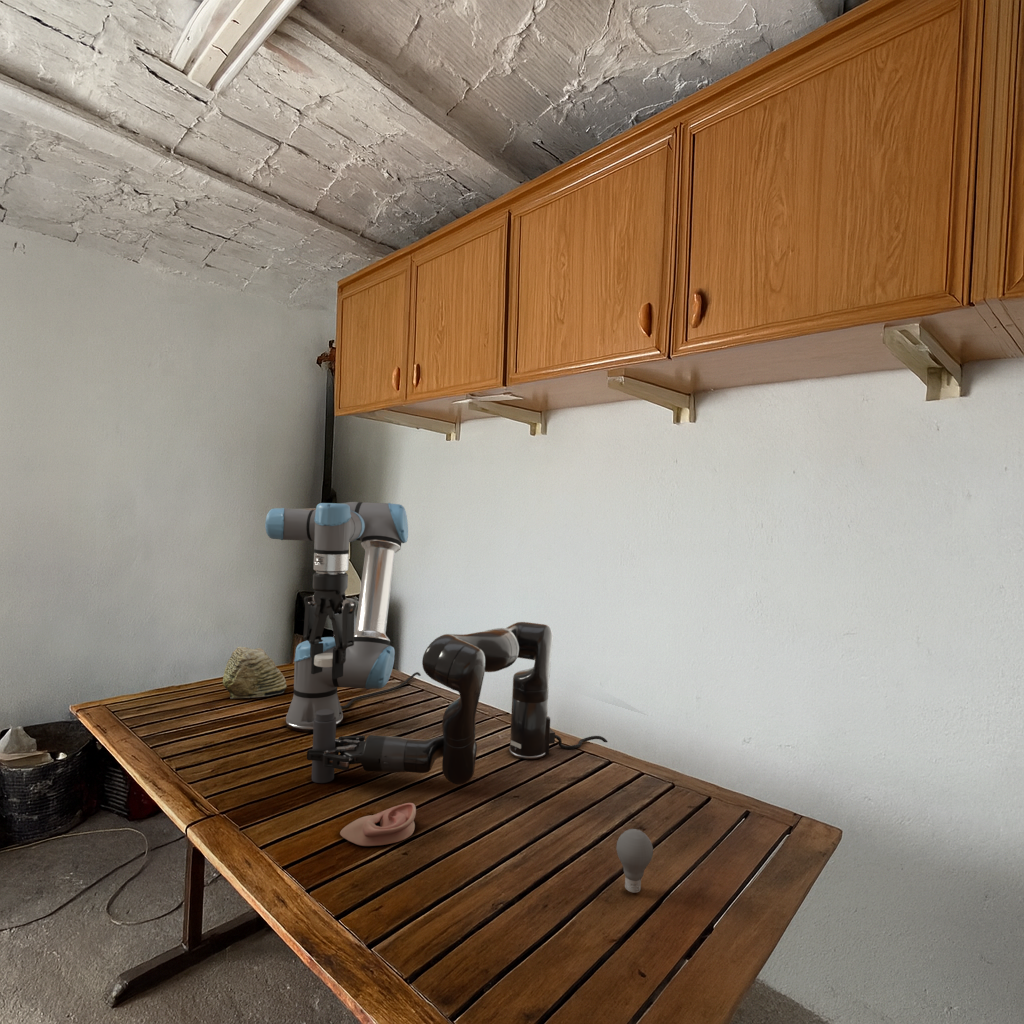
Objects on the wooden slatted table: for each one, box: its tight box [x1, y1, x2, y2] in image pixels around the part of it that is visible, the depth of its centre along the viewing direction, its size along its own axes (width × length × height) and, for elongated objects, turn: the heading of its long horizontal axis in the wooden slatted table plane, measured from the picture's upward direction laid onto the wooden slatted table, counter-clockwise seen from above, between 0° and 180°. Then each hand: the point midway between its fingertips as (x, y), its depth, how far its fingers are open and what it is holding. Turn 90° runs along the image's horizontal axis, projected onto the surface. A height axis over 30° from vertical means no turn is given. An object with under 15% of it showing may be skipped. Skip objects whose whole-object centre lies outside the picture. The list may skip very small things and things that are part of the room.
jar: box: [311, 709, 337, 784], centre depth 142 cm, size 5×5×15 cm
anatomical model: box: [339, 802, 417, 847], centre depth 121 cm, size 13×4×12 cm
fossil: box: [222, 646, 288, 699], centre depth 198 cm, size 9×18×15 cm, turn 132°
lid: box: [314, 653, 333, 667], centre depth 142 cm, size 6×6×2 cm
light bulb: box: [615, 828, 654, 894], centre depth 106 cm, size 6×6×10 cm
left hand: (327, 674), depth 142 cm, fingers closed on lid, 6 cm apart
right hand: (312, 749), depth 142 cm, fingers closed on jar, 5 cm apart
